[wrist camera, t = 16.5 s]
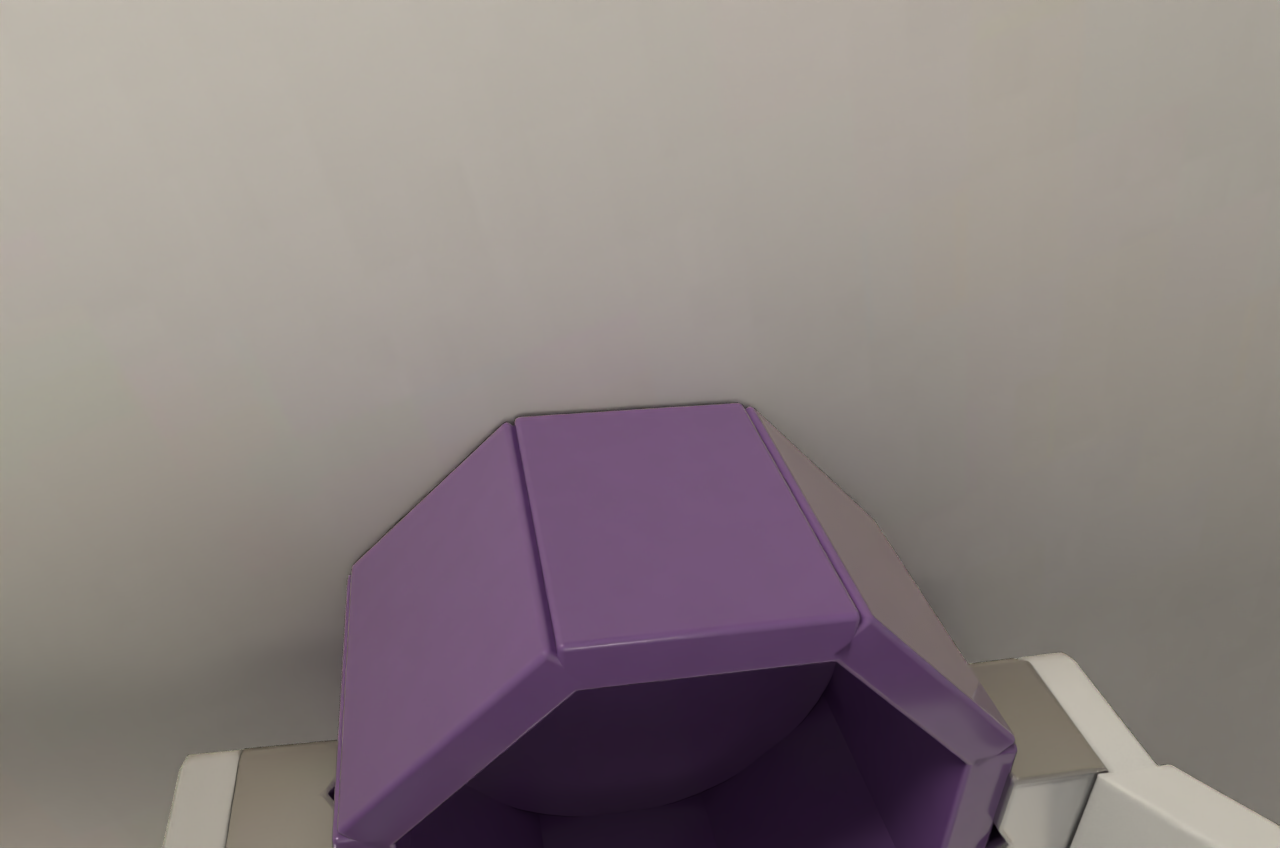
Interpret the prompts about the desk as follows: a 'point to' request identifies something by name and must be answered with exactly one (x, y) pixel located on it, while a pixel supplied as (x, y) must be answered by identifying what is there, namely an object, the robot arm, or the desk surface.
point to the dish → (653, 656)
